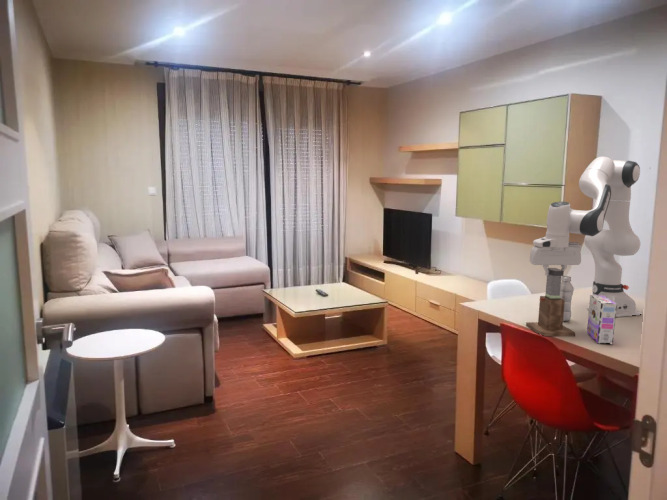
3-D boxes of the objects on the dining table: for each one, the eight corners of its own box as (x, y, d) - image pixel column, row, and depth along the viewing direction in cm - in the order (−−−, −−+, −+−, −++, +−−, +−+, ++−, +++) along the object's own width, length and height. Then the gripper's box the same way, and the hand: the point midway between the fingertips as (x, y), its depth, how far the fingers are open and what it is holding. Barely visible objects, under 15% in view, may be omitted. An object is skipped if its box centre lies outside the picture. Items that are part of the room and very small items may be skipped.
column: (551, 309, 213) (555, 267, 210) (560, 314, 206) (563, 271, 203) (542, 309, 212) (545, 267, 210) (550, 314, 206) (554, 271, 203)
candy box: (613, 345, 194) (617, 303, 191) (597, 343, 195) (601, 302, 192) (601, 333, 207) (605, 294, 205) (586, 332, 208) (589, 294, 206)
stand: (557, 325, 218) (560, 293, 216) (574, 335, 204) (577, 302, 202) (525, 325, 217) (528, 294, 215) (541, 336, 203) (543, 302, 201)
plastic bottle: (552, 318, 228) (555, 275, 225) (567, 318, 228) (571, 275, 225) (557, 322, 222) (561, 278, 219) (573, 322, 222) (577, 278, 219)
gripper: (577, 241, 208) (574, 273, 211) (529, 240, 207) (526, 273, 209) (585, 243, 202) (582, 276, 204) (536, 243, 201) (533, 277, 203)
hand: (554, 275), depth 207 cm, fingers closed on column, 4 cm apart
